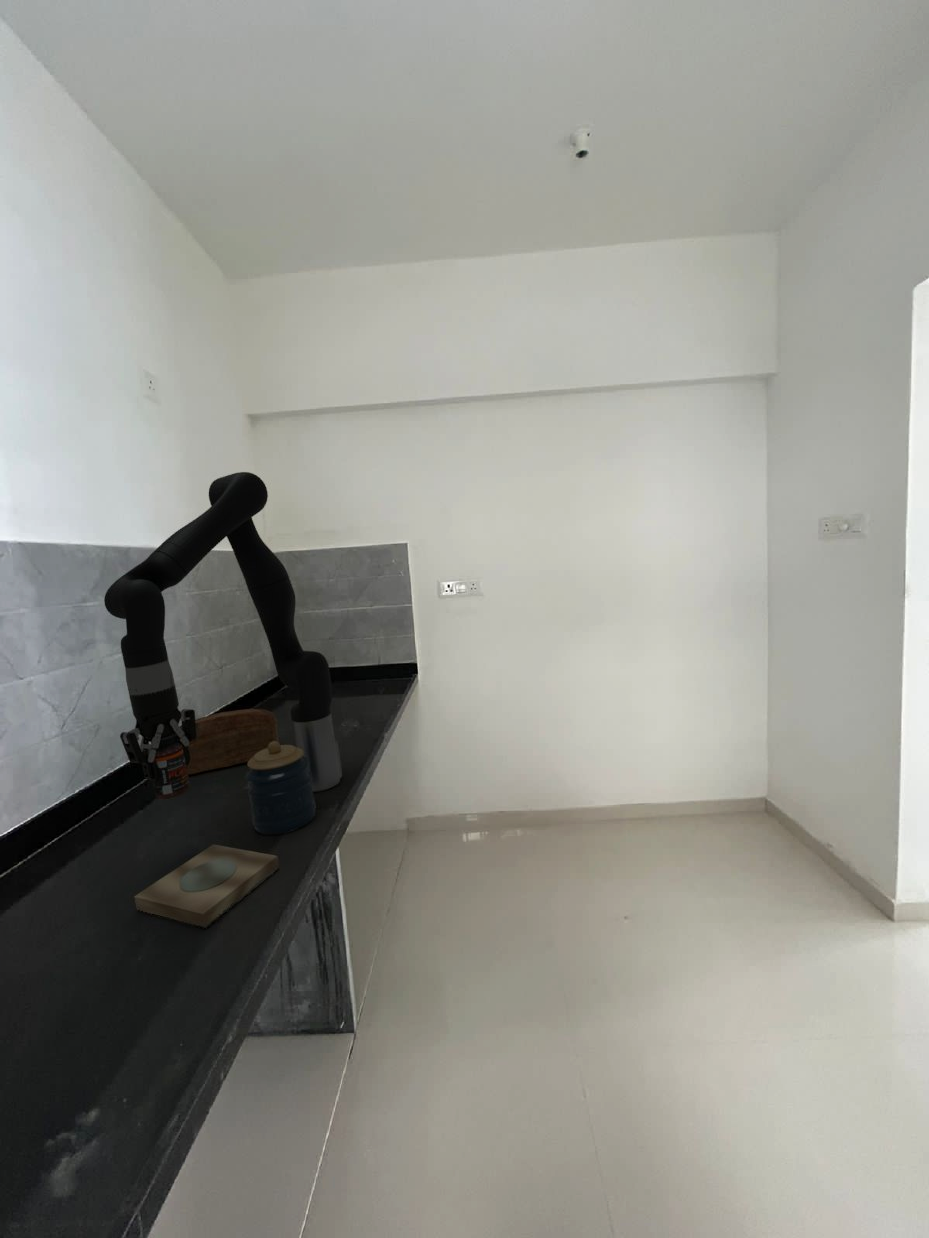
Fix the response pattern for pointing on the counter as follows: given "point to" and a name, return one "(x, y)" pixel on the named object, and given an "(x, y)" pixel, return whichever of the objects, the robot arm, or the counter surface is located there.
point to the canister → (280, 789)
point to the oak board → (206, 884)
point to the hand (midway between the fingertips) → (169, 772)
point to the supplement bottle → (170, 769)
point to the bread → (230, 738)
